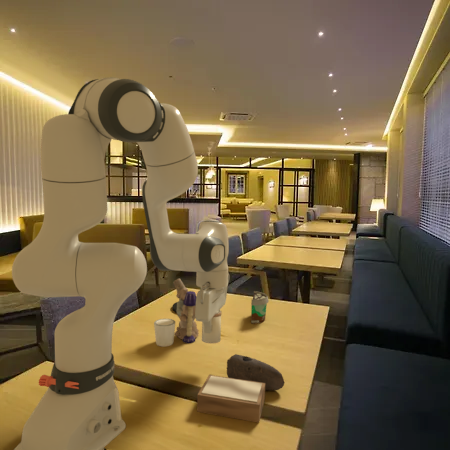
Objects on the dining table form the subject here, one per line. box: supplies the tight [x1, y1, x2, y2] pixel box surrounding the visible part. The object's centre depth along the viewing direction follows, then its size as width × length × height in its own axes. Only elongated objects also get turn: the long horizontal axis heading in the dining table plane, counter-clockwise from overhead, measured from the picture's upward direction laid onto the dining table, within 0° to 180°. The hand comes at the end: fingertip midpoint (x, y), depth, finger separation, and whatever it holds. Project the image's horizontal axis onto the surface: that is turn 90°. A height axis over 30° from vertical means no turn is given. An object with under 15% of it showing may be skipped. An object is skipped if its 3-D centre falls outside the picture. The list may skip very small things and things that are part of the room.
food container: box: [250, 290, 269, 324], centre depth 135 cm, size 12×6×10 cm, turn 171°
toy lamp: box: [182, 290, 197, 344], centre depth 115 cm, size 5×5×17 cm
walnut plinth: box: [196, 374, 266, 423], centre depth 81 cm, size 9×14×4 cm, turn 76°
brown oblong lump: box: [226, 353, 285, 391], centre depth 89 cm, size 15×5×7 cm, turn 64°
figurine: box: [172, 278, 200, 340], centre depth 119 cm, size 9×8×20 cm
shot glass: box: [153, 318, 176, 347], centre depth 114 cm, size 7×7×7 cm
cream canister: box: [201, 309, 222, 344], centre depth 97 cm, size 5×5×8 cm
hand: (211, 328), depth 98 cm, fingers closed on cream canister, 5 cm apart
